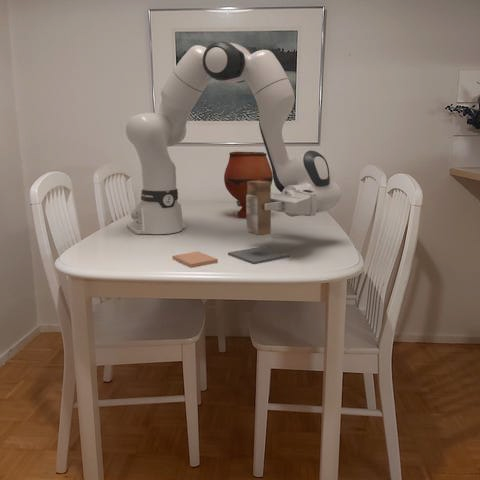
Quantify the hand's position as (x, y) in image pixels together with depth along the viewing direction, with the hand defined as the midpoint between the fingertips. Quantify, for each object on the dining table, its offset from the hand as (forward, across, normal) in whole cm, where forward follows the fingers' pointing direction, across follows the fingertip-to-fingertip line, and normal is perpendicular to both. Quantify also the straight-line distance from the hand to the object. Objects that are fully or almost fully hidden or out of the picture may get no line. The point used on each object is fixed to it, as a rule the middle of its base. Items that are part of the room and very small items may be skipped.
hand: (256, 205), depth 132 cm
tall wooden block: (-1, 0, +8) cm, 8 cm away
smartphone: (-53, -76, +14) cm, 94 cm away
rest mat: (-1, 0, +14) cm, 14 cm away
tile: (+12, -6, +14) cm, 19 cm away
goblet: (-35, -50, +14) cm, 63 cm away
